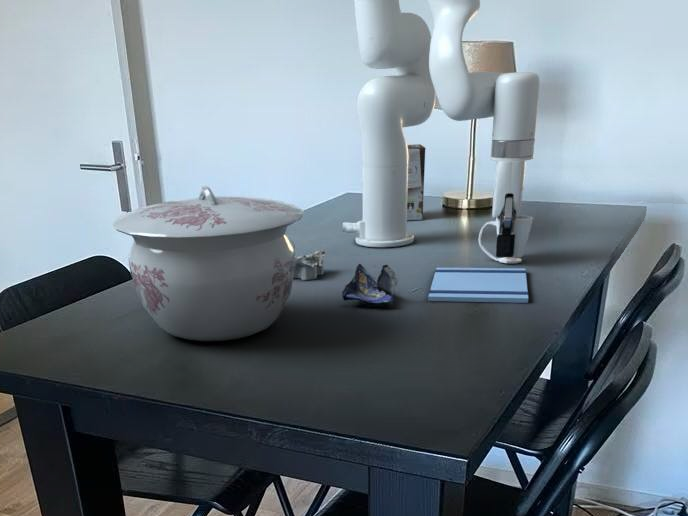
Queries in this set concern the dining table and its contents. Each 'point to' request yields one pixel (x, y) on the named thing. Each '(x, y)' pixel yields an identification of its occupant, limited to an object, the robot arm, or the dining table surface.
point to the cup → (521, 237)
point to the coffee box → (415, 181)
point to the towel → (479, 285)
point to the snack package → (372, 287)
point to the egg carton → (309, 265)
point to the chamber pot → (212, 263)
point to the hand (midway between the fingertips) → (504, 251)
